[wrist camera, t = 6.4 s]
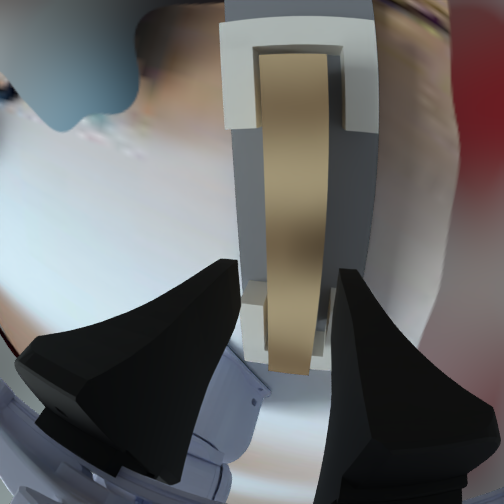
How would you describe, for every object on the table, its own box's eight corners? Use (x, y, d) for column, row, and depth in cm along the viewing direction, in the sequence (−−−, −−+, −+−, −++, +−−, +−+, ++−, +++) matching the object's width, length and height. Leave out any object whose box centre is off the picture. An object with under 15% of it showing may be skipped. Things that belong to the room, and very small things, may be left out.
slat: (315, 320, 20) (308, 375, 15) (282, 317, 20) (268, 370, 16) (325, 71, 12) (326, 53, 8) (279, 71, 13) (259, 54, 8)
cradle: (342, 358, 22) (341, 391, 19) (250, 348, 24) (240, 379, 21) (368, 2, 10) (378, -21, 7) (229, 4, 12) (207, -15, 9)
